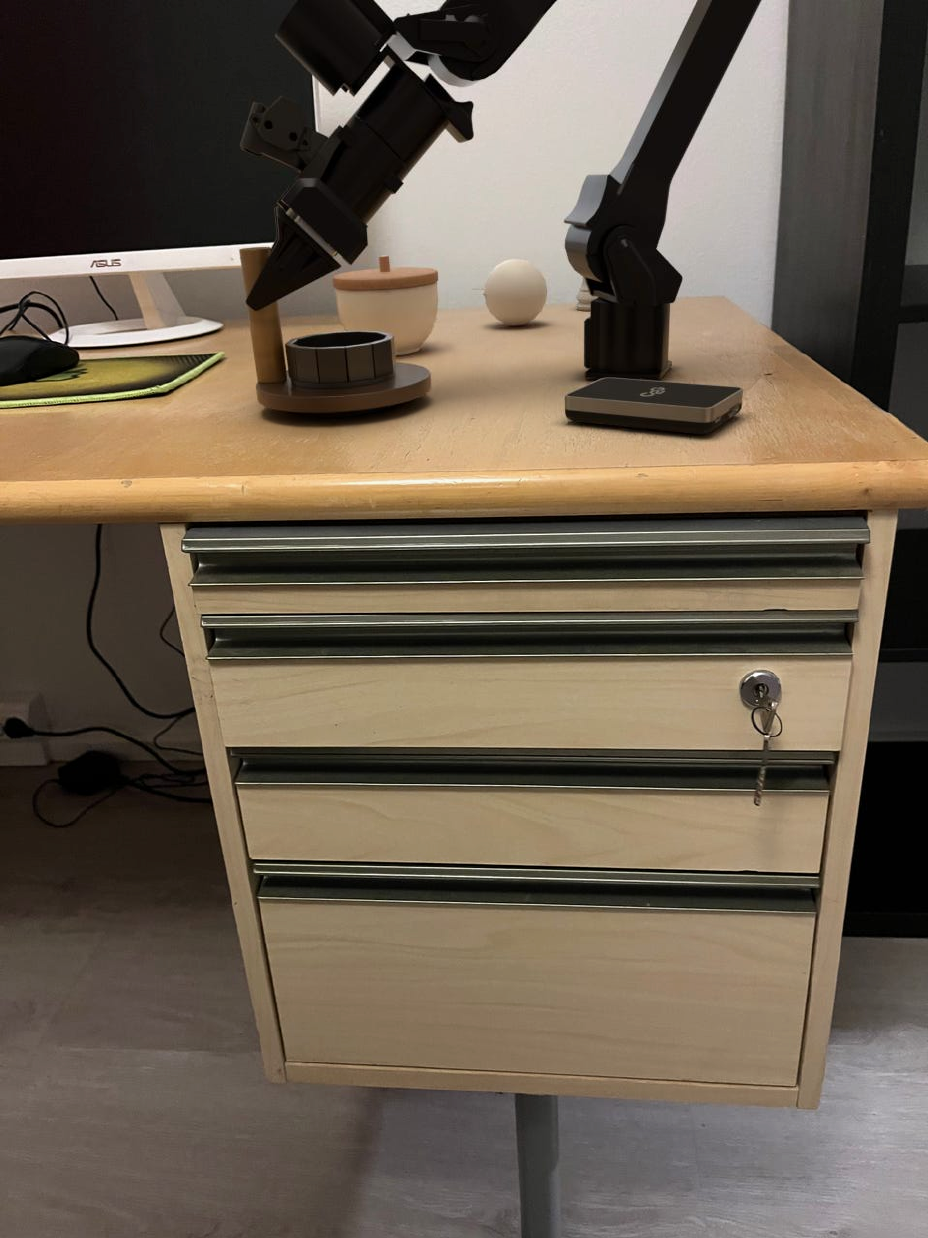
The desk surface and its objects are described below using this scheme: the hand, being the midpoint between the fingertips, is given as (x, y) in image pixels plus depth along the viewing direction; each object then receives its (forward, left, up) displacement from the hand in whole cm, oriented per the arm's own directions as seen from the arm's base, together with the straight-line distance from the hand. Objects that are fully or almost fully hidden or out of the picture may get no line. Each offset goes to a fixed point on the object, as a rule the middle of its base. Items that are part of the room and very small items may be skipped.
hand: (250, 304), depth 75 cm
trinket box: (0, -26, -8) cm, 27 cm away
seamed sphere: (-7, -44, -8) cm, 45 cm away
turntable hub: (-7, -2, -8) cm, 11 cm away
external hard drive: (-32, -1, -8) cm, 33 cm away
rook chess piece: (-14, -57, -8) cm, 59 cm away
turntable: (-7, -2, -7) cm, 10 cm away
